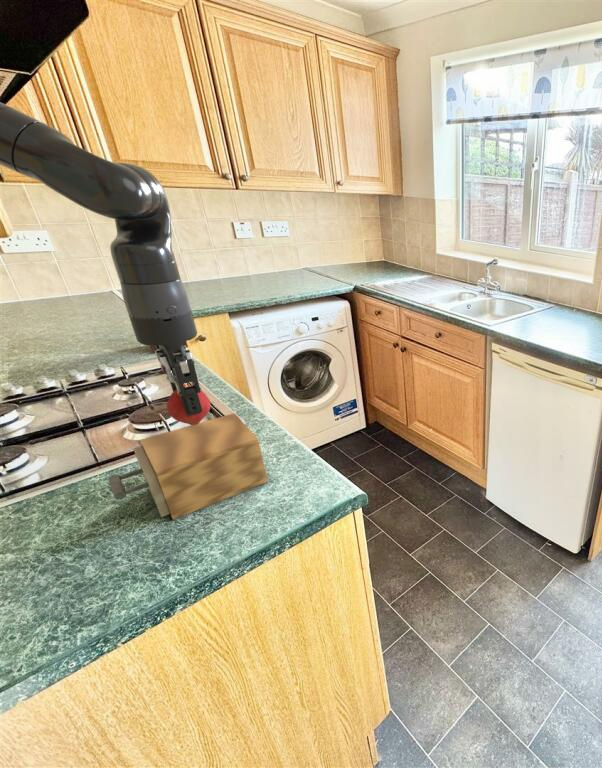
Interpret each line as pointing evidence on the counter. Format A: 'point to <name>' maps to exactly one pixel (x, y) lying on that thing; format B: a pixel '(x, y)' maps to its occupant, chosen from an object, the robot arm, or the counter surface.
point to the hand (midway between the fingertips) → (189, 406)
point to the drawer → (150, 483)
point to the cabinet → (205, 463)
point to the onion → (178, 411)
